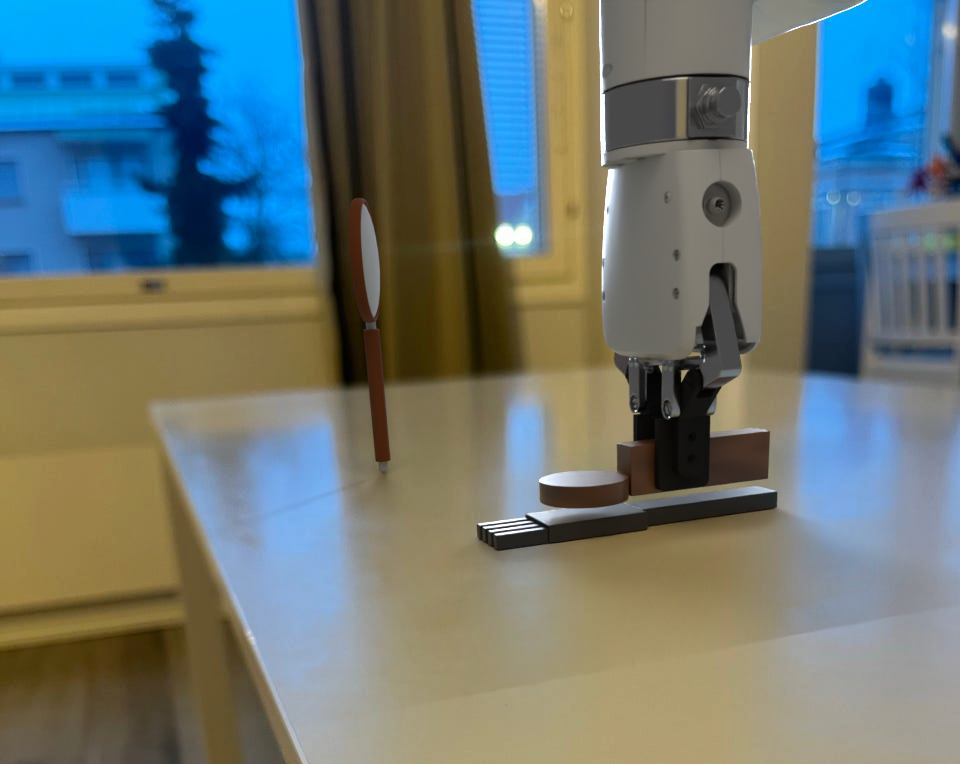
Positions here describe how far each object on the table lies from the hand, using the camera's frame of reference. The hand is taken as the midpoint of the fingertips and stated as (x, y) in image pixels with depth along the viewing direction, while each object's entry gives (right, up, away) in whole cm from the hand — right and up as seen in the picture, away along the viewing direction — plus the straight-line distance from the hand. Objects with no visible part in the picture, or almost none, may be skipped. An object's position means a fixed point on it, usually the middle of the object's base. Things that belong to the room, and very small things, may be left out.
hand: (670, 482), depth 57 cm
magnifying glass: (-19, +4, +21) cm, 28 cm away
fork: (-2, -2, 0) cm, 3 cm away
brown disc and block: (-1, 0, 0) cm, 1 cm away
